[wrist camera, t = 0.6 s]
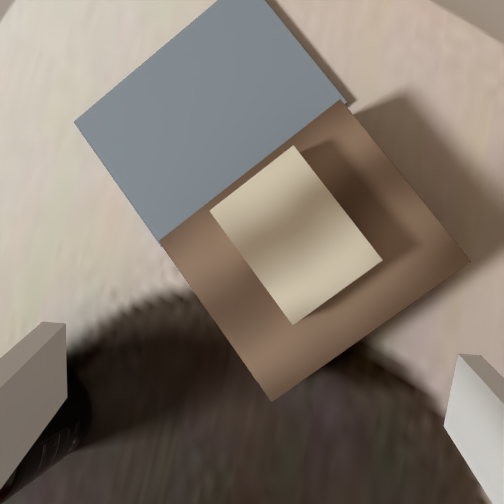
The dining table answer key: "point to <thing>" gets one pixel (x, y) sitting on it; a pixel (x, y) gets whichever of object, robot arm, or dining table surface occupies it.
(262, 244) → the birch tile
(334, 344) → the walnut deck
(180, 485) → the dining table surface
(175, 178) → the rubber mat
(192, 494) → the dining table surface
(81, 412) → the supplement bottle
